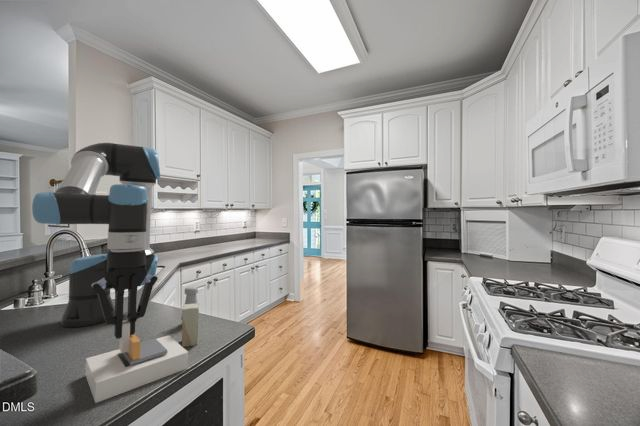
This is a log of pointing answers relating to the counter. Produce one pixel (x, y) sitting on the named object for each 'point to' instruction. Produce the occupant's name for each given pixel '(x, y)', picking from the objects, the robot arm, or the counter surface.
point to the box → (190, 324)
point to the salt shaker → (191, 296)
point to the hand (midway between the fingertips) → (124, 350)
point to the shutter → (143, 350)
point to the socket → (132, 370)
